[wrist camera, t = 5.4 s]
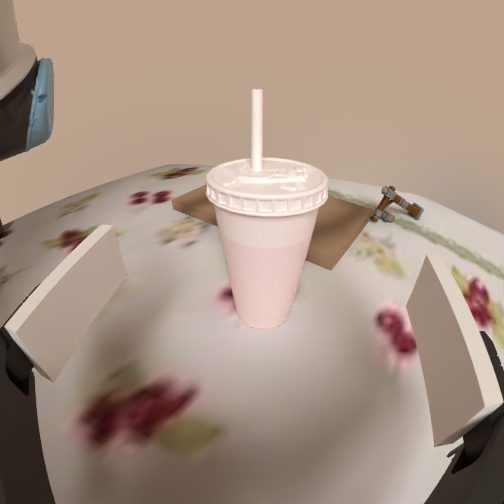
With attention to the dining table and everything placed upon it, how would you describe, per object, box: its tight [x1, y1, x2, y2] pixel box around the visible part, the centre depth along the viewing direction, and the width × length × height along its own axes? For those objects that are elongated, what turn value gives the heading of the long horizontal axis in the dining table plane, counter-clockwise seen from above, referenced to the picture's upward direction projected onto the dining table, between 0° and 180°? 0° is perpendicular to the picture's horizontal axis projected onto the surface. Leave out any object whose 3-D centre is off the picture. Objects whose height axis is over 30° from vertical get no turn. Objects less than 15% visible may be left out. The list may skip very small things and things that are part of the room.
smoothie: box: [206, 89, 328, 329], centre depth 16 cm, size 6×6×14 cm
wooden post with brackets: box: [371, 186, 424, 223], centre depth 31 cm, size 2×8×4 cm, turn 108°
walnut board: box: [172, 185, 372, 270], centre depth 32 cm, size 20×12×1 cm, turn 53°
